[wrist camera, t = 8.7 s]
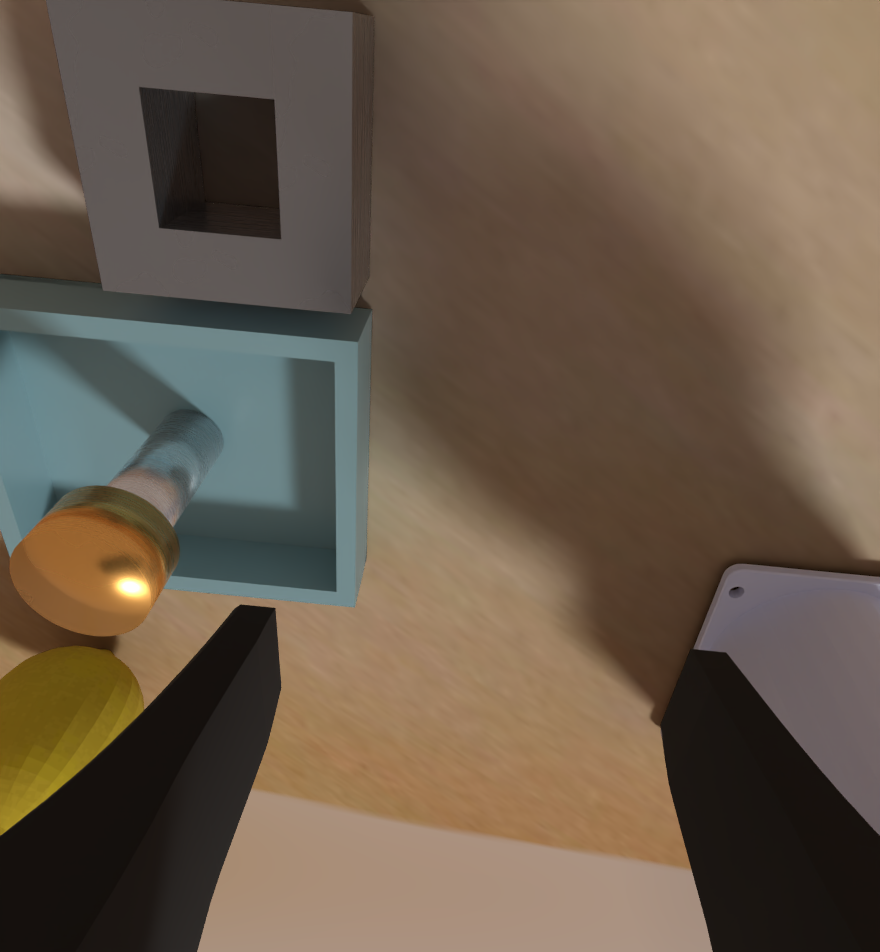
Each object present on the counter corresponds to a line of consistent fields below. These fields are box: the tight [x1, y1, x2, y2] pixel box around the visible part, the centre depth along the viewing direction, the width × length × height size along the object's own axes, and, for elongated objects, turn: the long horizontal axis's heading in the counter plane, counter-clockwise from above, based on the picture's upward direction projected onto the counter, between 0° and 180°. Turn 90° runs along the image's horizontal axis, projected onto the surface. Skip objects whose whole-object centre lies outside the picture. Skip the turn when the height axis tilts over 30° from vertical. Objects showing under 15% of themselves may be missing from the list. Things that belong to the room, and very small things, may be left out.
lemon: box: [0, 646, 144, 835], centre depth 24 cm, size 6×6×8 cm
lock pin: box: [9, 409, 224, 636], centre depth 19 cm, size 3×3×7 cm
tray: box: [0, 274, 372, 607], centre depth 21 cm, size 9×11×2 cm
